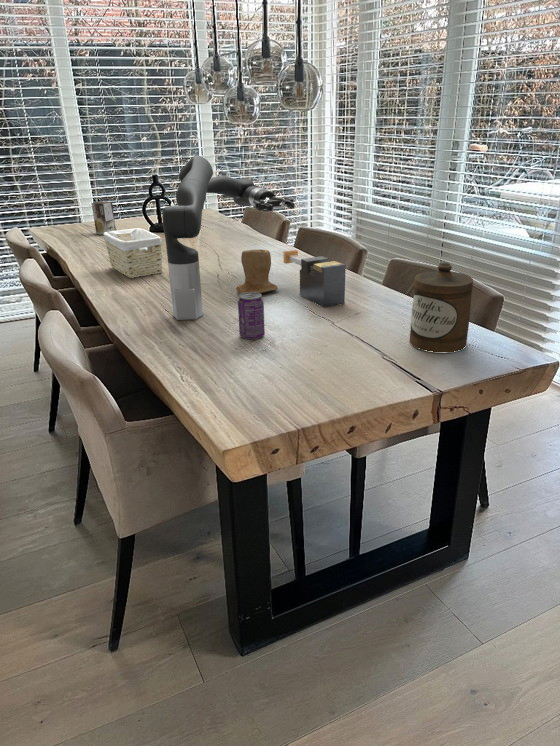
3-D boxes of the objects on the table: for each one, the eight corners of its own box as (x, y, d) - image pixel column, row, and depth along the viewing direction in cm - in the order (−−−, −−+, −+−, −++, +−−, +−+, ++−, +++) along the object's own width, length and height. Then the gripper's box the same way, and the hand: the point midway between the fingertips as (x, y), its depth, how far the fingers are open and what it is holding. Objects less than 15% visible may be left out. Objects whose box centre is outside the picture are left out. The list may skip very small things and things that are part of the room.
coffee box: (117, 233, 303) (112, 201, 296) (107, 235, 298) (103, 203, 291) (105, 231, 308) (100, 200, 301) (95, 233, 303) (90, 202, 296)
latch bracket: (299, 295, 196) (299, 257, 191) (319, 291, 200) (320, 254, 194) (323, 307, 184) (324, 267, 178) (344, 303, 187) (345, 264, 182)
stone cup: (264, 284, 209) (263, 243, 203) (282, 292, 200) (281, 249, 194) (227, 291, 202) (225, 249, 196) (244, 300, 193) (242, 256, 187)
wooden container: (398, 344, 155) (404, 263, 146) (428, 329, 164) (435, 253, 155) (447, 358, 145) (457, 273, 136) (476, 343, 154) (487, 262, 145)
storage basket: (166, 273, 227) (162, 236, 220) (127, 280, 218) (122, 241, 212) (144, 262, 245) (139, 227, 239) (106, 268, 237) (101, 231, 230)
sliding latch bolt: (283, 262, 205) (283, 251, 204) (295, 260, 207) (295, 249, 206) (308, 273, 191) (308, 261, 190) (320, 271, 193) (321, 259, 192)
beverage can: (251, 330, 167) (249, 290, 162) (269, 335, 162) (268, 294, 157) (234, 337, 162) (232, 296, 157) (253, 342, 158) (251, 300, 152)
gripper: (244, 190, 211) (264, 198, 198) (278, 187, 217) (300, 194, 204) (245, 211, 214) (265, 220, 202) (279, 207, 220) (300, 215, 208)
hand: (282, 207), depth 203 cm, fingers open, 8 cm apart
